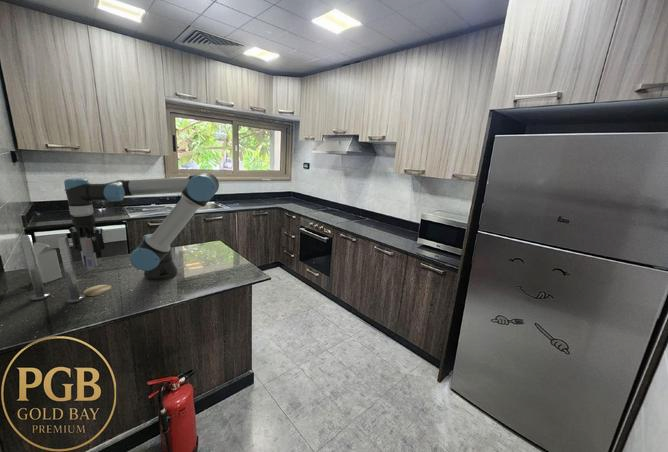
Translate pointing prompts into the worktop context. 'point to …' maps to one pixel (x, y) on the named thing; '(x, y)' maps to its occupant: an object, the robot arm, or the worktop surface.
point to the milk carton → (47, 262)
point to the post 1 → (33, 269)
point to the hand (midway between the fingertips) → (92, 264)
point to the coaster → (97, 290)
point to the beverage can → (89, 253)
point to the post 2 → (69, 271)
